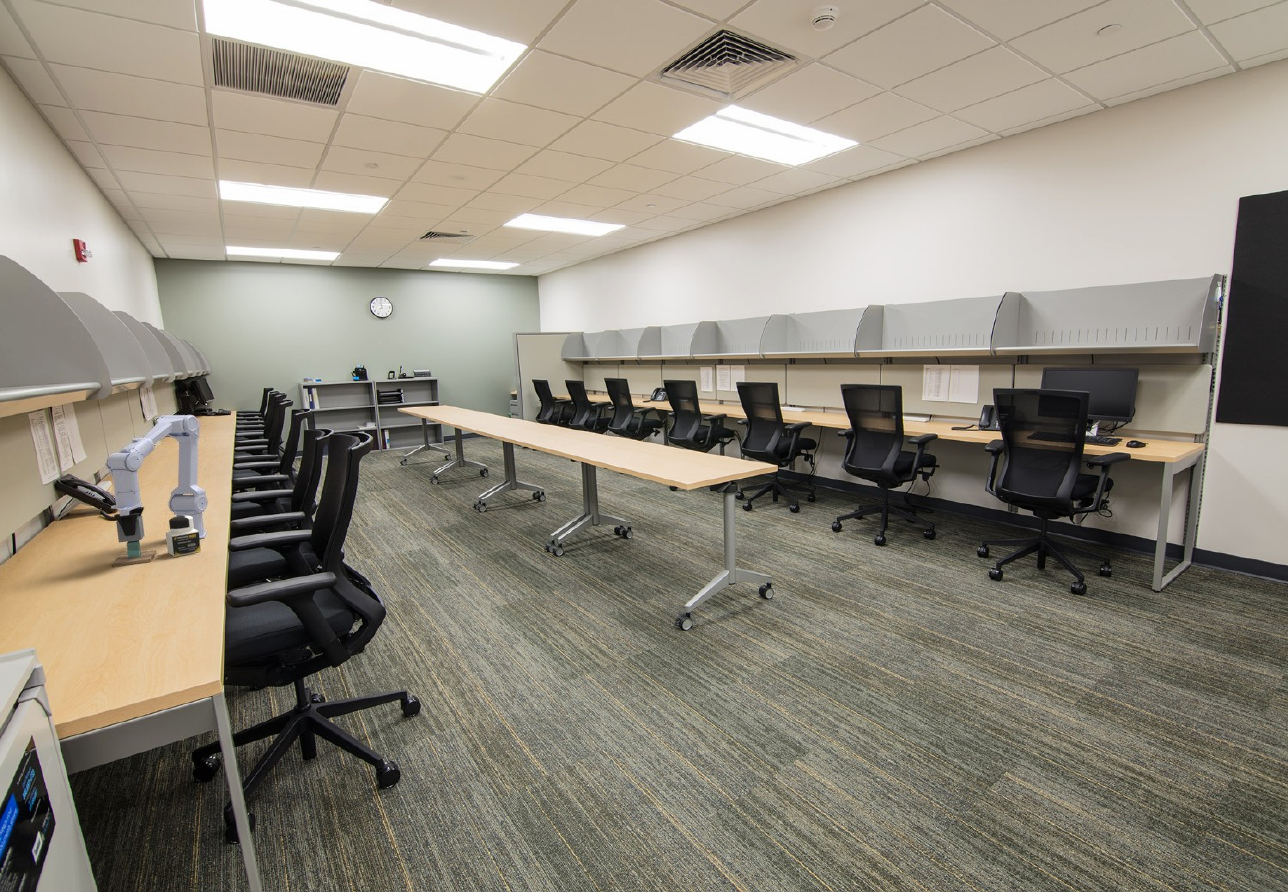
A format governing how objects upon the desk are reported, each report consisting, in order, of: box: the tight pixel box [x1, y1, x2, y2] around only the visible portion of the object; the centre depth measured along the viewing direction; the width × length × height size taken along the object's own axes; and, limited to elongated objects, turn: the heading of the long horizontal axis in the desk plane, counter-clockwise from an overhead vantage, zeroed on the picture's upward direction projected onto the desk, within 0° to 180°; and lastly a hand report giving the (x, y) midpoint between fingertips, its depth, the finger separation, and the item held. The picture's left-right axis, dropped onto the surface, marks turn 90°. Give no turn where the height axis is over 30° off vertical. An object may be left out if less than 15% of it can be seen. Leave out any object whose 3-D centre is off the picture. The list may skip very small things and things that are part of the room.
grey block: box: [115, 515, 145, 544], centre depth 176 cm, size 5×5×7 cm
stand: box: [111, 540, 157, 568], centre depth 177 cm, size 10×9×6 cm
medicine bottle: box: [165, 516, 202, 558], centre depth 184 cm, size 7×7×12 cm
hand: (132, 533), depth 176 cm, fingers closed on grey block, 5 cm apart
